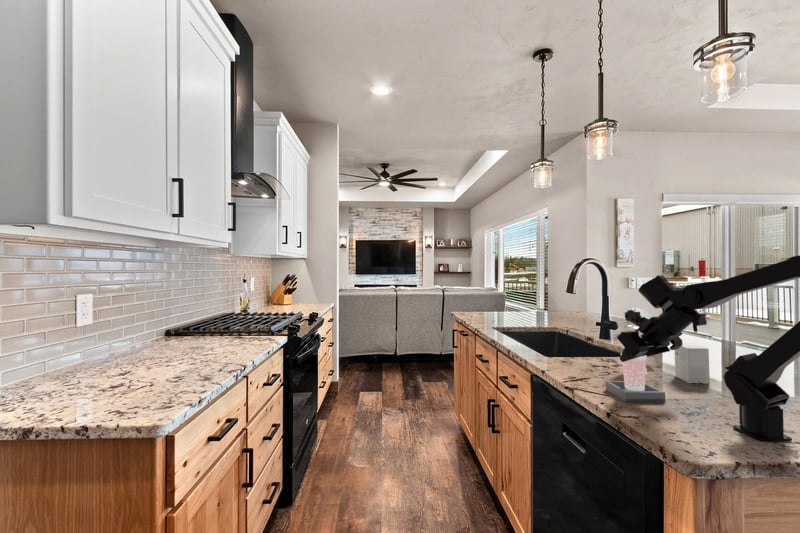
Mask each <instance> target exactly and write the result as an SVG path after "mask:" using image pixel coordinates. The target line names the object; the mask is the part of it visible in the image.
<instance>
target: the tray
mask: <svg viewBox="0 0 800 533" xmlns="http://www.w3.org/2000/svg"><path fill="white" fill-rule="evenodd" d="M605 391H607V392H608V393H610V394H611V395H613V396H615V397H616V398H618V399H619V400H621V401H623V402H624V403H666V392H665V391H664V390H661V389H659V388H657V387H655V386H653V385H651V384H649V383H647V382H645V390H644V391H632V390H628V389H626V388H625V384H624V380H606V381H605Z"/></svg>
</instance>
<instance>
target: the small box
mask: <svg viewBox="0 0 800 533" xmlns="http://www.w3.org/2000/svg"><path fill="white" fill-rule="evenodd" d="M709 354H710V351H709V348H707V347H705V346H702V345H698V344H696V343H683V342H682V346H681V347H680V348H678V349H676V350H674V373H675V375H674V376H675V377H676V378H678V379H680V380H682V381H684V382H685V383H687V384H691V383H696V385H700V384H699V383H703V384H704V385H710V384H711V383H710V382H711V381H710V380H711V379H710V355H709ZM697 383H698V384H697ZM703 384H702V385H703Z"/></svg>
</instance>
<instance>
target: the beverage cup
mask: <svg viewBox="0 0 800 533" xmlns="http://www.w3.org/2000/svg"><path fill="white" fill-rule="evenodd" d="M621 354H622V352H621V353H620V355H621ZM647 360H648V357H647V356H646V355H645V356H642V357H638V358H635V359H632V360H628V361H625V362H622V361H621V363H622V371H623V372H622V373H623V374H622V375H623V381H624V384H625V388H626V389H628V390H632V391H644V390H645V383H646V375H645V370H647V364H646V363H647V362H646V361H647Z"/></svg>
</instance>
